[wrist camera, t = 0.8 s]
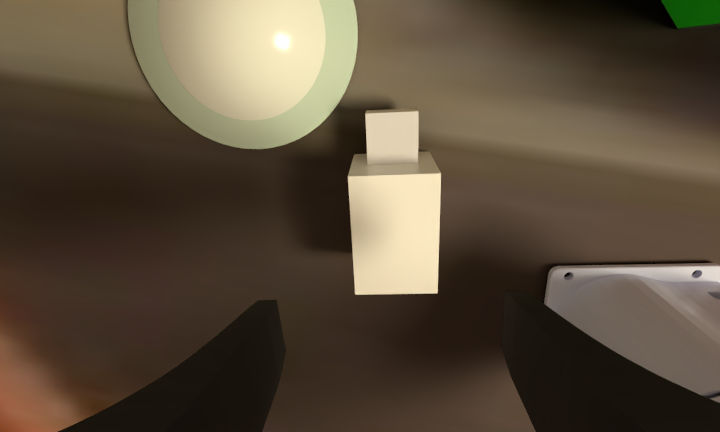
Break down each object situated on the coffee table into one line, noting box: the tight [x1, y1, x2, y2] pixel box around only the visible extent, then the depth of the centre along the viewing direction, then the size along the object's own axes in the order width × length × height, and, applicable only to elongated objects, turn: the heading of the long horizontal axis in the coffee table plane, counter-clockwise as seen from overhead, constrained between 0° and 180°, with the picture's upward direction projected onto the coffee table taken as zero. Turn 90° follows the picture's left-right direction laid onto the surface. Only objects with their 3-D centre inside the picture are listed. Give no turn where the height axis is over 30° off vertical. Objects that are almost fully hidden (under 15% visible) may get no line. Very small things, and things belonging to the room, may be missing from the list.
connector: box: [348, 108, 441, 295], centre depth 19 cm, size 8×4×4 cm, turn 3°
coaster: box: [128, 0, 358, 149], centre depth 19 cm, size 11×11×1 cm
